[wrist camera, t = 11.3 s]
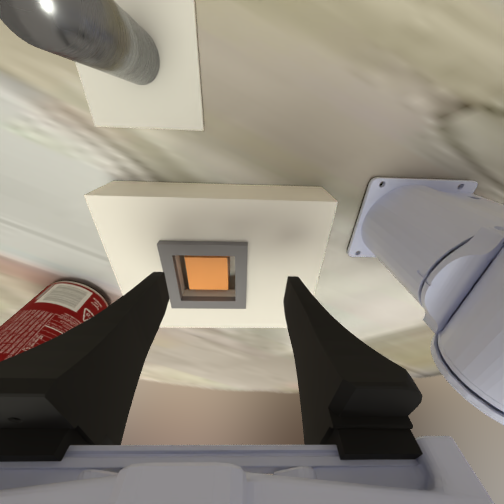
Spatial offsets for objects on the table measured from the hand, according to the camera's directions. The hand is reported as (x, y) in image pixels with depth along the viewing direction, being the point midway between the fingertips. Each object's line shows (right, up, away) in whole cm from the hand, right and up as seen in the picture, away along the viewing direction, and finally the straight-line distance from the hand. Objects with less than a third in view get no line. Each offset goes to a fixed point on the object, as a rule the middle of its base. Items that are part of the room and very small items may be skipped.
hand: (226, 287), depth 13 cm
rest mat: (-6, +15, +1) cm, 16 cm away
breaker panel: (-2, +2, +10) cm, 10 cm away
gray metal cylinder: (-6, +15, +1) cm, 16 cm away
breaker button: (-3, +2, +9) cm, 10 cm away
